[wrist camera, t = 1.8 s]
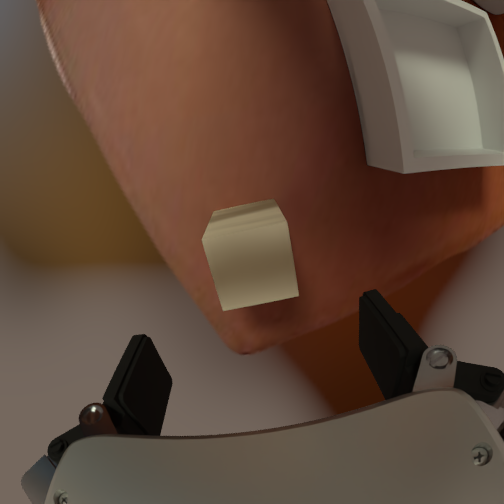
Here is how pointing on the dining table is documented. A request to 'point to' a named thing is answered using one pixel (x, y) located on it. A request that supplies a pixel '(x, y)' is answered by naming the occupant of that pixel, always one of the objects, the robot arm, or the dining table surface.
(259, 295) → the birch block
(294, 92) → the dining table surface
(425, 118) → the bin
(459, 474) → the robot arm
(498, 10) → the cylinder vase
